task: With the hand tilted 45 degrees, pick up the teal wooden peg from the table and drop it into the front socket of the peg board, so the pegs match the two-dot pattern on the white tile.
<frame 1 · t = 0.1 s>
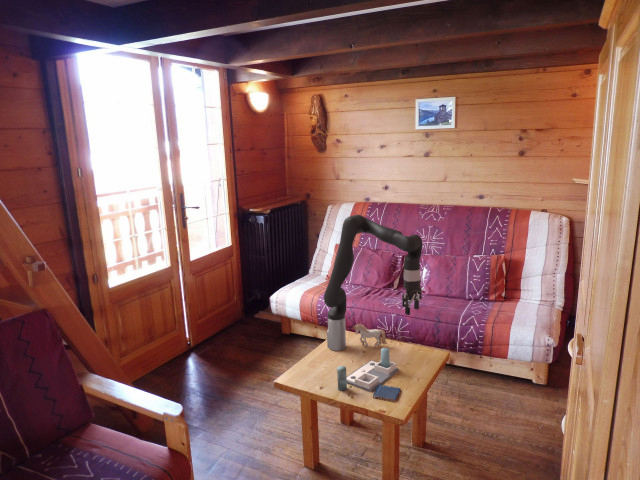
hand: (412, 311, 211), 29 cm above the table, tool pointing down, fingers open, 8 cm apart
unicorn figurine: (369, 349, 242), on the table
teal peg: (342, 388, 203), on the table
peg board: (370, 376, 213), on the table
woven mat: (387, 395, 197), on the table
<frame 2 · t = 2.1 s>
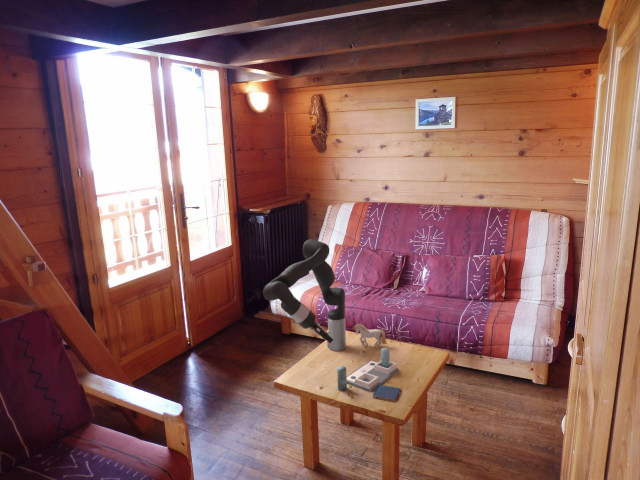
hand: (328, 337, 197), 25 cm above the table, tool tilted 40°, fingers open, 8 cm apart
nothing on the table moved.
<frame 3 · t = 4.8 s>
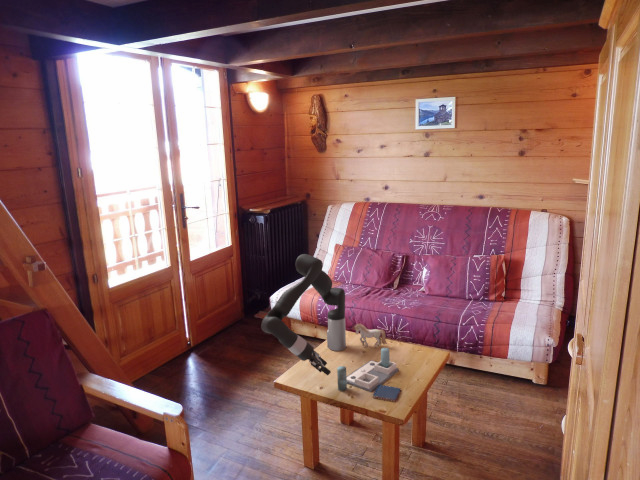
hand: (327, 368, 200), 10 cm above the table, tool tilted 45°, fingers open, 8 cm apart
nothing on the table moved.
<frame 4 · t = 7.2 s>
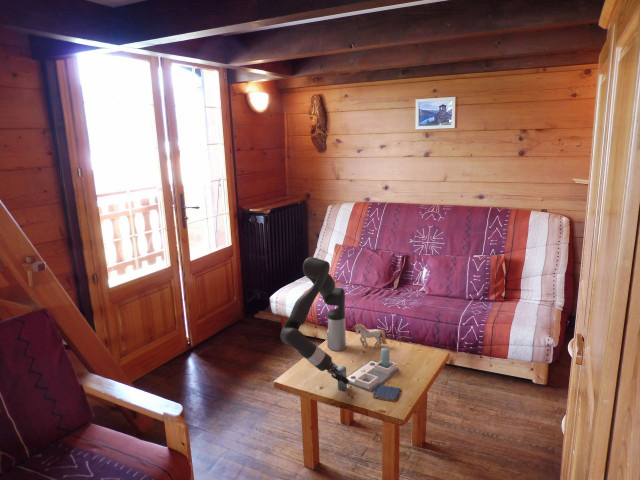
hand: (346, 379, 203), 4 cm above the table, tool tilted 45°, fingers closed on teal peg, 4 cm apart
teal peg: (342, 388, 203), on the table, touching gripper
everything else where it was.
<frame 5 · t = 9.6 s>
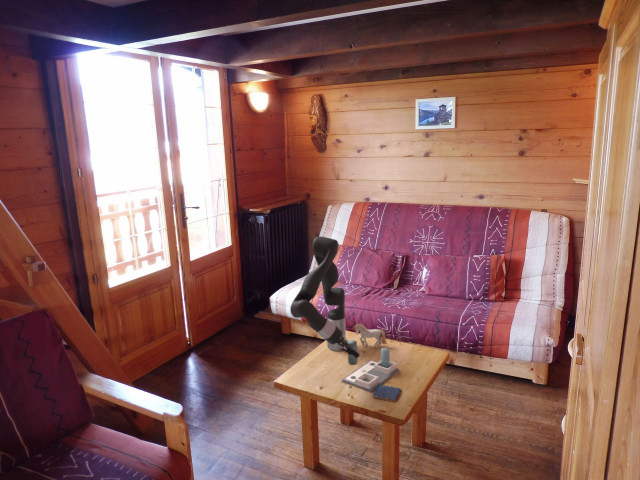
hand: (356, 354, 202), 16 cm above the table, tool tilted 45°, fingers closed on teal peg, 4 cm apart
teal peg: (352, 363, 202), point 12 cm above the table, touching gripper
everything else where it was.
when the fingers open (6 cm above the table, at t = 12.2 s): teal peg drops 1 cm, resting on peg board.
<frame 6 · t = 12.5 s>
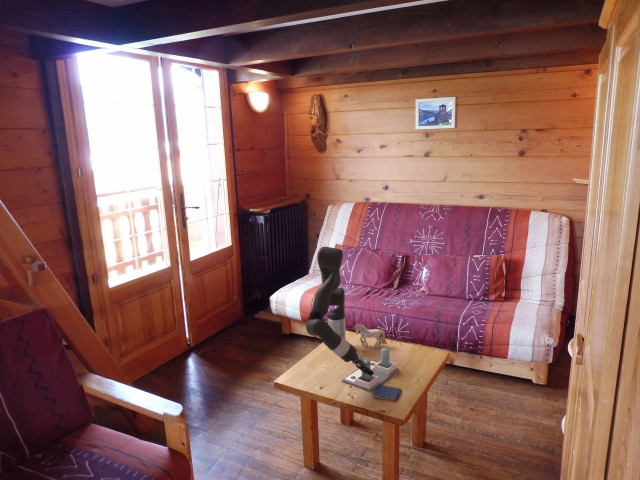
hand: (370, 370, 204), 7 cm above the table, tool tilted 45°, fingers open, 6 cm apart
teal peg: (366, 382, 205), point 1 cm above the table, touching peg board
everything else where it was.
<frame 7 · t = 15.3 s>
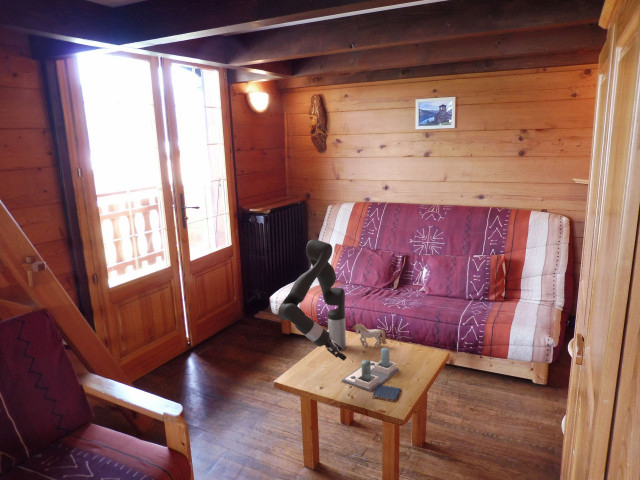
hand: (343, 354, 204), 15 cm above the table, tool tilted 45°, fingers open, 8 cm apart
nothing on the table moved.
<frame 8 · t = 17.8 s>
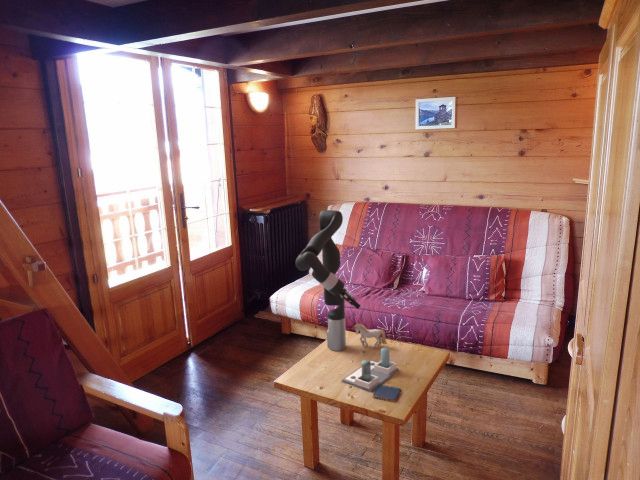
hand: (356, 304, 215), 33 cm above the table, tool tilted 45°, fingers open, 8 cm apart
nothing on the table moved.
at the end: teal peg 0.1 cm from the target spot on the peg board, point 1.0 cm above the peg board's base; teal peg tilted 0°; the gripper is holding nothing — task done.
